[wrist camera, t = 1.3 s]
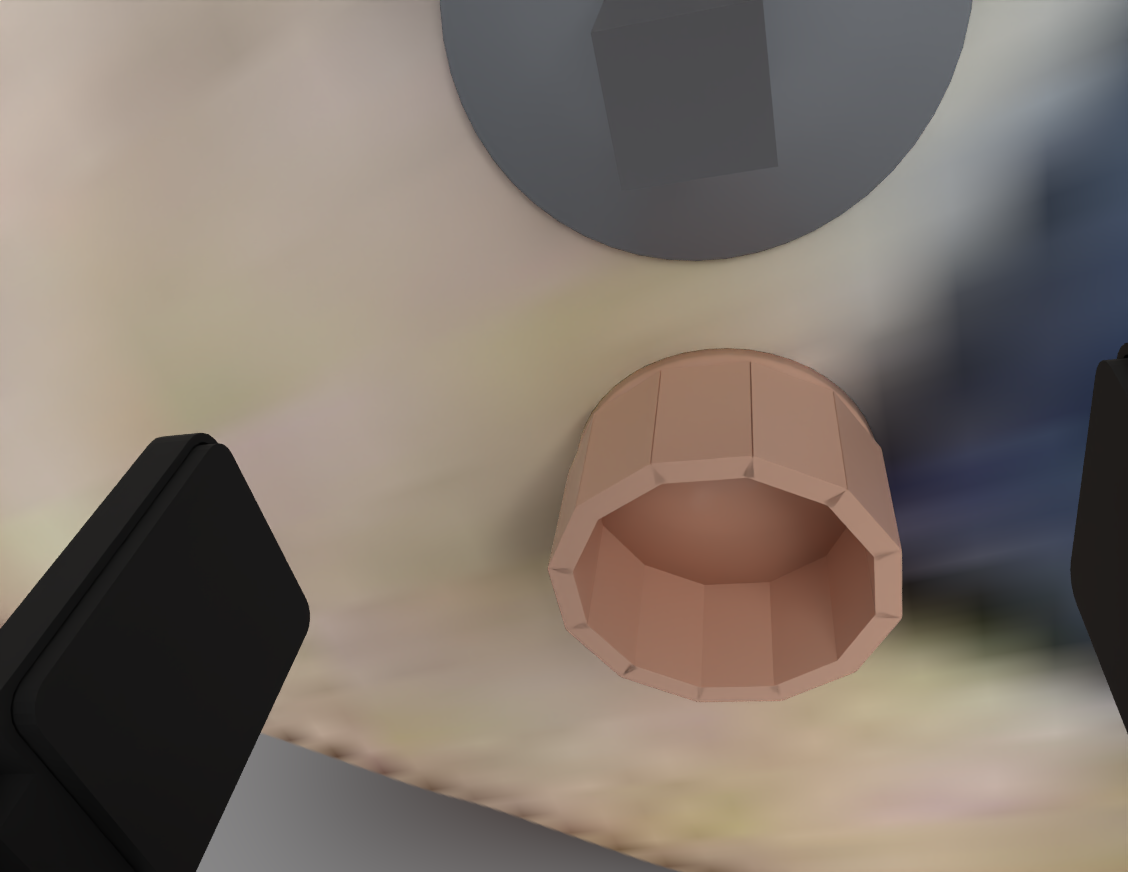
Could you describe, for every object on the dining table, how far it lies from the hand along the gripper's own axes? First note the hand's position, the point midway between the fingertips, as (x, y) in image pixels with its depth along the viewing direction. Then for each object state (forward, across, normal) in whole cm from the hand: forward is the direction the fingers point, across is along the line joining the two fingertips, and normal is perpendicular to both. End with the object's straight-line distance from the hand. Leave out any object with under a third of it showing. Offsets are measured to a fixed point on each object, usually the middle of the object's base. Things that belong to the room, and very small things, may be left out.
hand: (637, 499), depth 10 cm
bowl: (+20, +1, +16) cm, 25 cm away
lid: (+20, 0, 0) cm, 20 cm away
